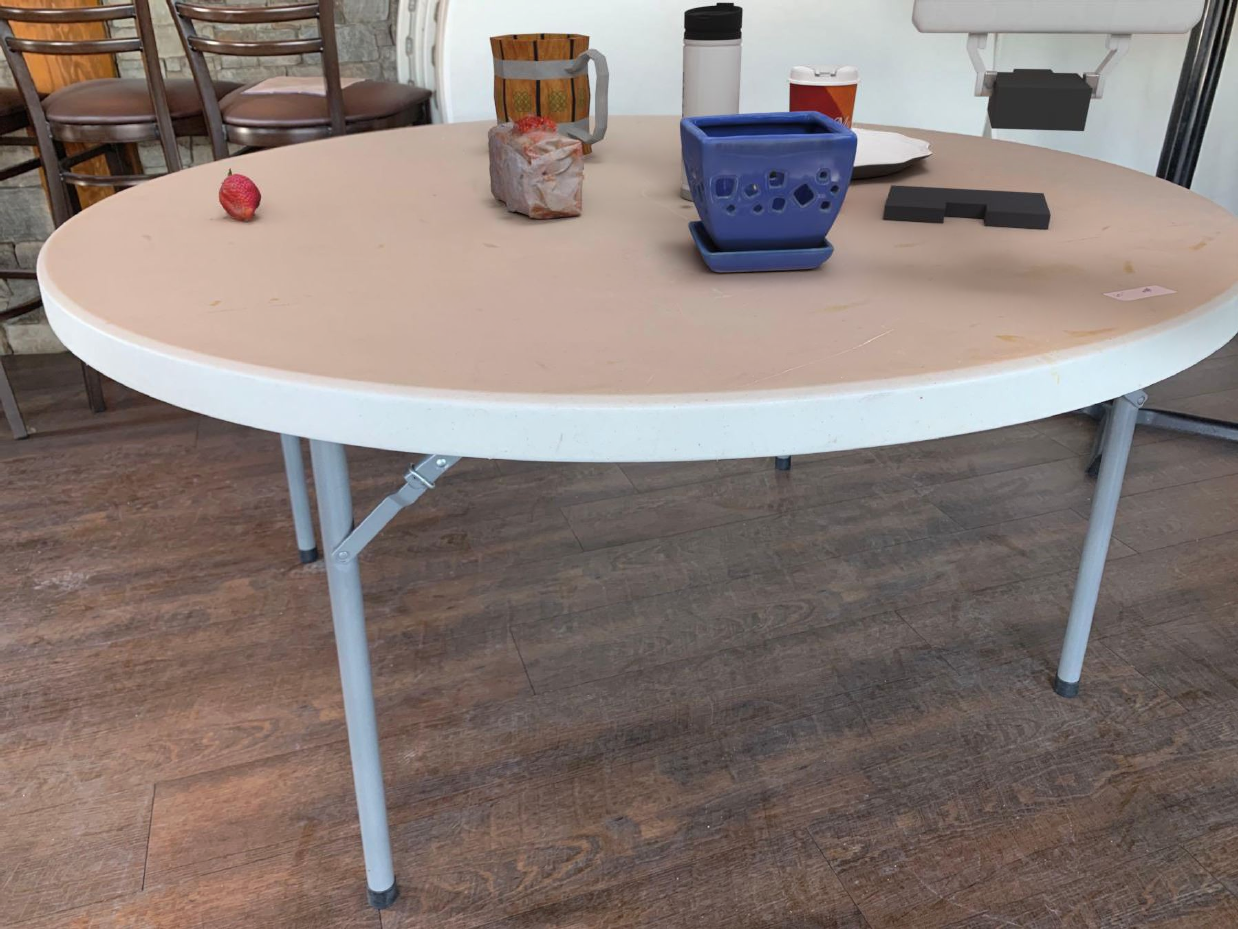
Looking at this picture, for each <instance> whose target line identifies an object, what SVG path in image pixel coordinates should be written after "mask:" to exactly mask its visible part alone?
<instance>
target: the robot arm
mask: <svg viewBox="0 0 1238 929" xmlns="http://www.w3.org/2000/svg"><path fill="white" fill-rule="evenodd" d="M1205 4H1206V0H913V6H912V13H911V24H912V26H914V28H915V29H916V31H917V32H918V33H920V34H967V39H966V46H965V48H966V51H967V54H968V56H969V59H970V61H971V63H972V66H973V68H974V71H975V73H976V78H975V83H974V91H973V92H974V93H973V97H979V98H981V97H984V98H985V97H987V98H989V97H993V94H994V88H995V87H994V84H995V81H996V80H997V72H998V71H997V70H986V67H985V65H984V61H983V59H982V57H981V55H980V52H979V50H985V49H986V48H987V42H988V36H989V34H1048V35H1049V34H1052V35H1053V34H1059V35H1061V34H1068V35H1070V34H1072V35H1073V34H1074V35H1075V34H1076V35H1077V34H1079V35H1081V34H1082V35H1083V34H1084V35H1085V34H1086V35H1088V34H1089V35H1093V34H1094V35H1106V38H1105V43H1104V47H1105V49H1107V50H1109V53H1108V54H1107V55H1106V56H1105V58H1104V59H1103V61H1101V63H1100V64H1099V66H1098V67H1097V68H1096V70H1095V71H1083V73H1082V79H1083V80H1084V81H1085V82H1087V83H1088V84H1089V85H1090V86H1091V87H1092V88H1093V90H1092V94H1091V99H1090V100H1102V98H1103V96H1104V93H1105V92H1104V90H1105V86H1106V82H1107V78H1108V75H1110V74H1111V72H1112V71H1113V70H1114V69H1115V68H1116V67H1117V65H1118V64H1119V63H1120V61H1121V60H1122V59H1123V58H1124V57H1125V56H1126V54H1127V53H1128V52H1129V48H1130V44H1131V40H1132V37H1133V36H1132V35H1185V34H1188V33H1189V32H1190V31H1192V29H1193V28H1194V27H1196V25H1198V23H1199V22H1200V21H1201V19H1202V16H1203V13H1204V9H1205Z"/></svg>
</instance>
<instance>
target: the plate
mask: <svg viewBox="0 0 1238 929" xmlns="http://www.w3.org/2000/svg"><path fill="white" fill-rule="evenodd" d="M851 130H852V131H853V132H854V133H855V134H856V135H857V139H858V143H857V150H856V156H855V161H854V166H853V171H852V175H851V179H850V180H858V179H867V178H875V177H882V176H886V175H887V176H888V175H891V174H895V173H897V172H899V171H902V170H904V169H906V168H907V167H908V166H910V165H913V164H915V163H918V162H920V161H922V160H924V159H927V158H929V157H931V156H932V155H933V152H932V151H931V150H930V149H929V148H930V146H931V144H930V143H929V142H928V141H926V140H922V139H918V138H913V137H910V136H907V135H904V134H902V133H897V132H893V131H883V130H871V129H864V128H858V127H851ZM775 175H776V174H775V171H772V172H771V174H770V177H771V178H774V177H775Z"/></svg>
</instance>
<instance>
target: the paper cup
mask: <svg viewBox="0 0 1238 929" xmlns="http://www.w3.org/2000/svg"><path fill="white" fill-rule="evenodd" d="M786 82H787V83H789V92H788V94H789V96H788V97H789V98H788V100H789V101H788V104H789V105H788V112H798V111H817V112H819V113H822V114H824V115H826V116H828V117H830V118H831V119H833V120H835V121H837V122H839V123H841V124H843V125H844V126H846V127H848V128H849V129H851V128H852V123H853V116H854V110H855V103H856V97H857V91H858V84H860V83H861V82H862V80H861V78H860V77H859V69H858V67H856V66H853V65H852V66H851V65H843V64H804V65H803V64H801V65H795V66H792V68H791V70H790V75H789V77H788V78H787V79H786Z"/></svg>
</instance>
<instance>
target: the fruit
mask: <svg viewBox="0 0 1238 929" xmlns="http://www.w3.org/2000/svg"><path fill="white" fill-rule="evenodd" d="M218 199H219V201H218V202H219V203H220V205H221V206H222V208H223V209H224V211H225V213H226V214H228V216H230V217H231V218H233V219H235V220H238V221H240V222H245V221H247V222H248V221H250V220H251V219H253V218H254V216H255V212H256V210H257V209H258V208H259V206H260V205H261V202H262V201H261V200H262V193H261V191H260V189H259V188H258V186H257V185H256V184H255V182H254V181H253V180H252V179H250V177H248V176H246V175H243V174H240V173H234V174H233V172H232V168H231V167H229V169H228V172H227V176H226V177H225V179H223V181H222V182H221V186H220V187H219V190H218Z"/></svg>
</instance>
